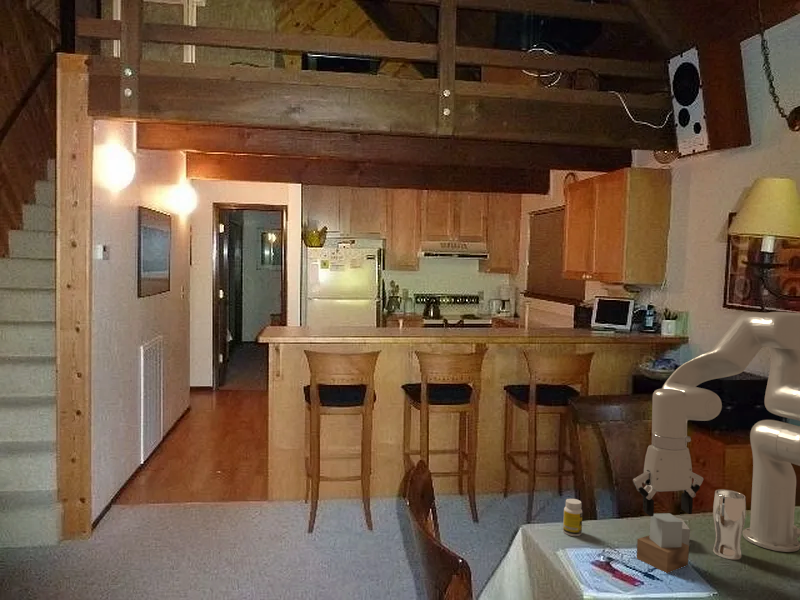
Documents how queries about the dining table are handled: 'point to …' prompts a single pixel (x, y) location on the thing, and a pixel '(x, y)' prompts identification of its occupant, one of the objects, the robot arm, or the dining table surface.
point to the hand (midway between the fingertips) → (667, 513)
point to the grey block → (685, 533)
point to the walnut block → (662, 555)
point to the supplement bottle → (572, 518)
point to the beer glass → (728, 523)
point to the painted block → (666, 530)
